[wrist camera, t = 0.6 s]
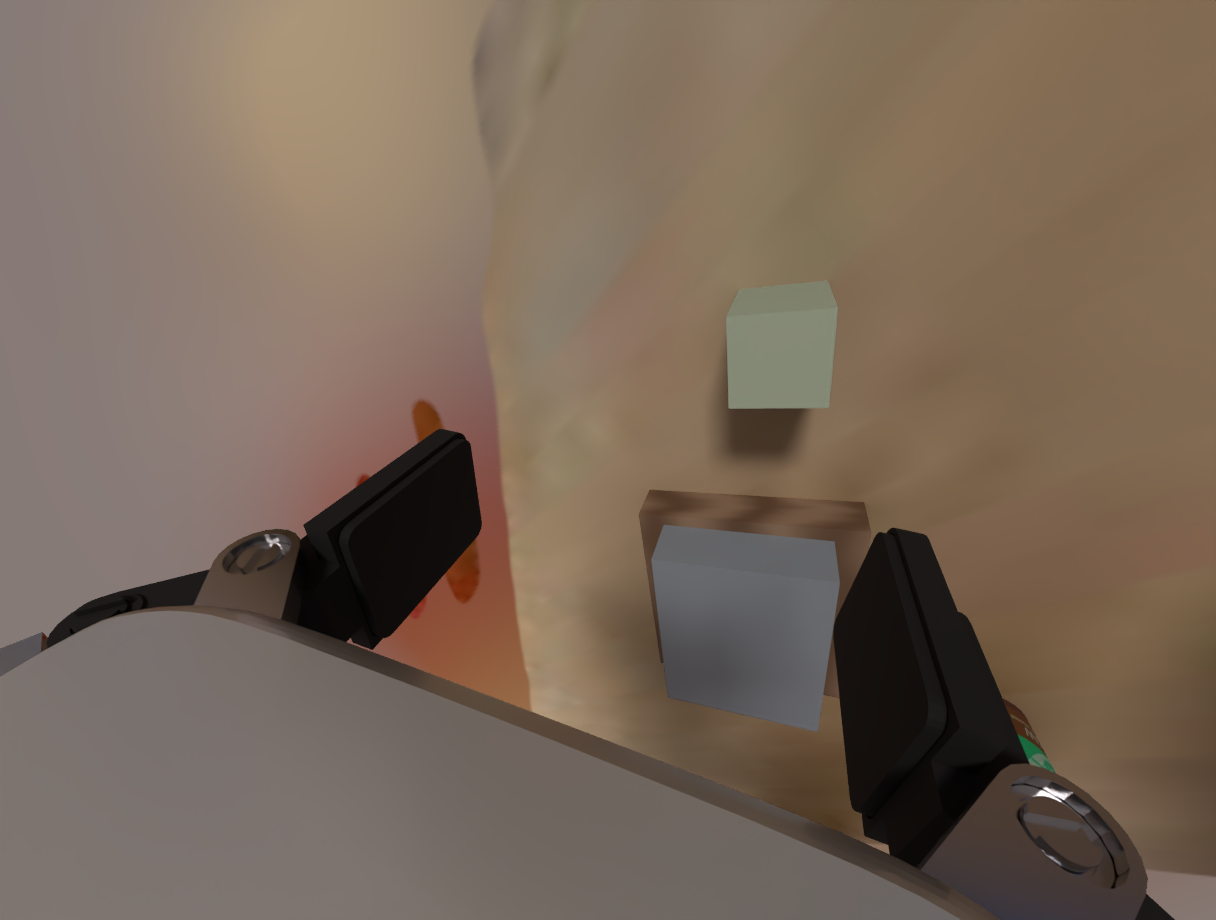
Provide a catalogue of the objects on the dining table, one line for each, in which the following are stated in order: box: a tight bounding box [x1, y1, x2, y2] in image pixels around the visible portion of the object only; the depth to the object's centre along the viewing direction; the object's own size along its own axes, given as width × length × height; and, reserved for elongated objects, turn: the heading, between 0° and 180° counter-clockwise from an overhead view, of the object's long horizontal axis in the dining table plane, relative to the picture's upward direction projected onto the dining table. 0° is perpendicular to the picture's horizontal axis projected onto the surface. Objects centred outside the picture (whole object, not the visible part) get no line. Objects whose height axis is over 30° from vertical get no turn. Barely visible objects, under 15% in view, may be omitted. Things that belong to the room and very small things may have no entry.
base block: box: [639, 490, 871, 698], centre depth 38 cm, size 16×18×4 cm
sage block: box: [726, 281, 838, 409], centre depth 26 cm, size 5×5×7 cm
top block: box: [651, 525, 840, 732], centre depth 35 cm, size 12×16×4 cm
